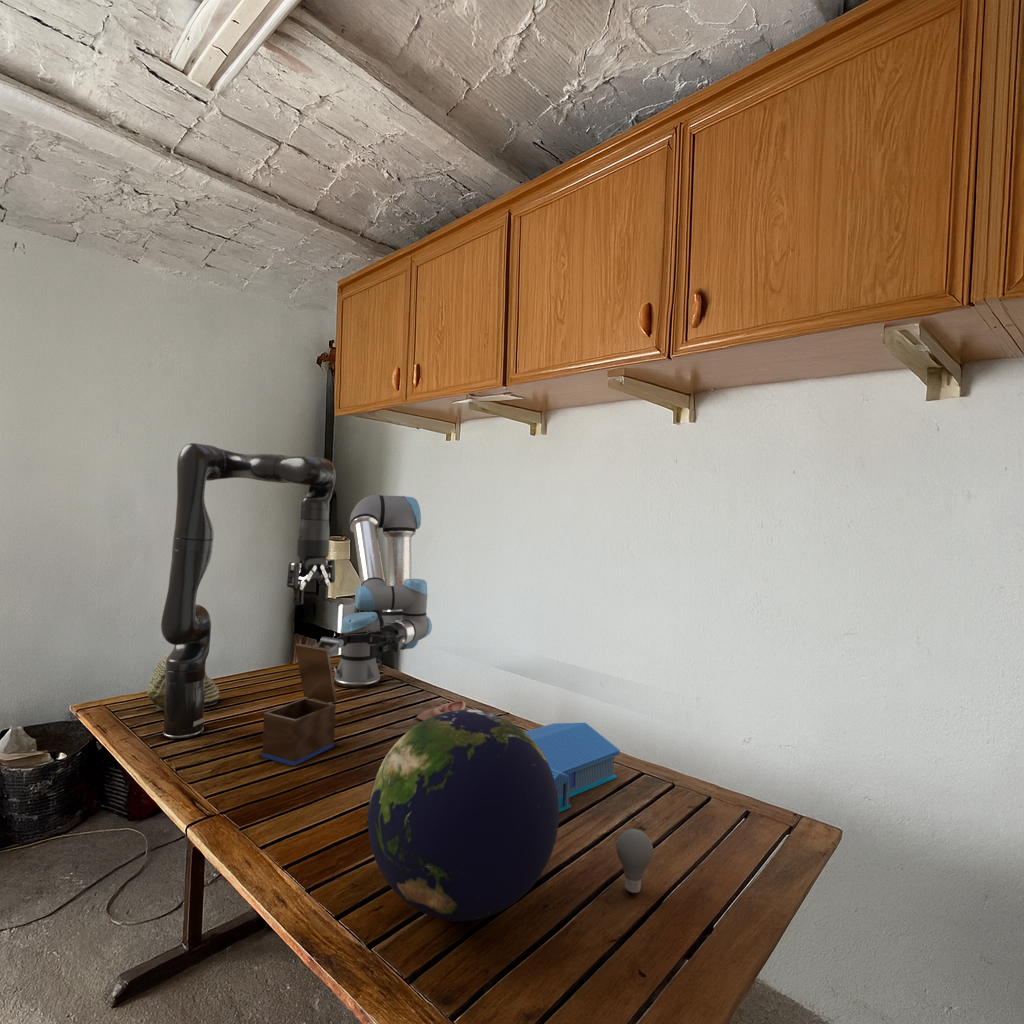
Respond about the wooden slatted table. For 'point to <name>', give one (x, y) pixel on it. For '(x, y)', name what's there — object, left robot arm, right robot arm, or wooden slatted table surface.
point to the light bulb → (634, 857)
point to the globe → (463, 815)
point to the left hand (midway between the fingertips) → (311, 602)
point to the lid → (317, 669)
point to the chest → (298, 731)
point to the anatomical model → (442, 710)
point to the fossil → (158, 687)
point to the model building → (575, 757)
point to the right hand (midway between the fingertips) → (350, 647)
